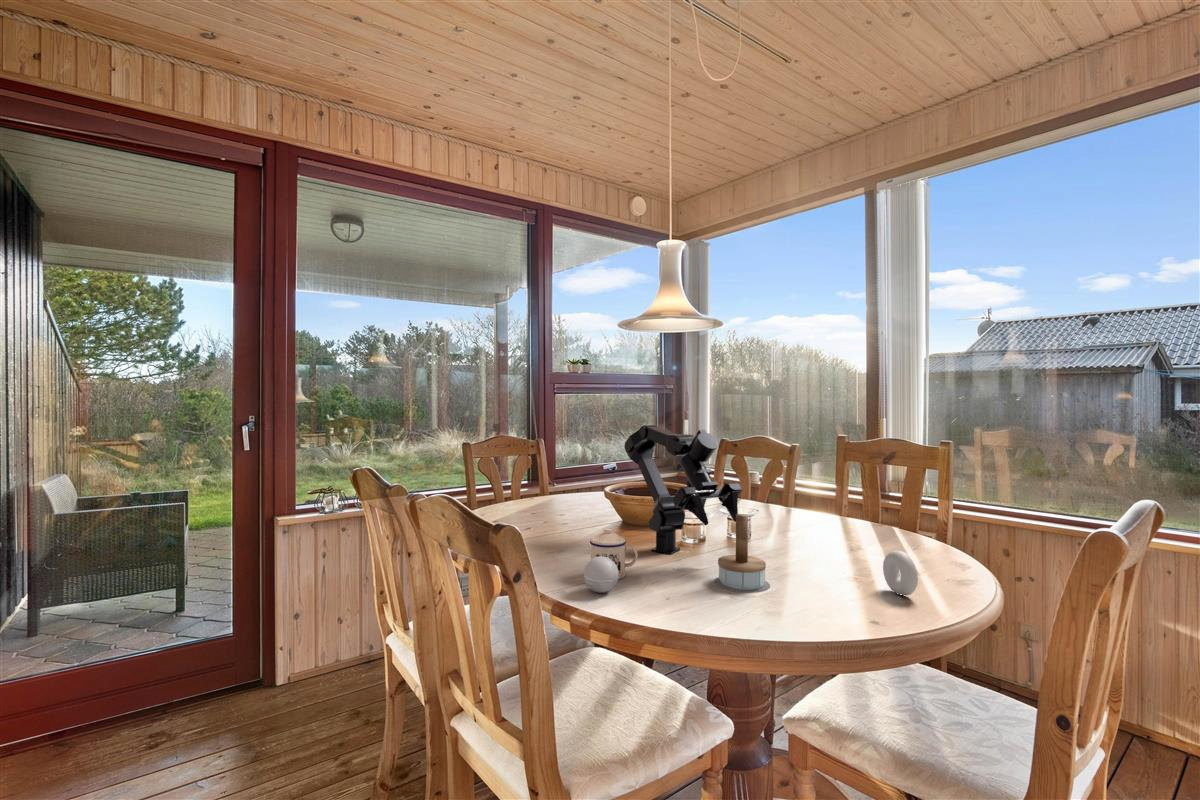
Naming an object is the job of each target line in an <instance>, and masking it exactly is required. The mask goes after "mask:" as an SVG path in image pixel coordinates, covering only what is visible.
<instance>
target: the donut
mask: <svg viewBox="0 0 1200 800" xmlns="http://www.w3.org/2000/svg"><path fill="white" fill-rule="evenodd" d="M882 570H883V571H882V572H883V576H884V580H885V582H886V584H887V587H889V589H890V590H891V592H893V591H894V592H893V593H895V592H896V593H898V594H902V595H907V596H911V595H912V594H913V593H914V592H915V591H916V589H917V587H918V584H919V583H918V582H919V576H918V570H917V567H916V565H915V562H914V560H913V559H912V558H911V557H910V556H909V554H907V553H905V552H904V551H902V550H896V549H894V550H891V551H890V552H888V553H887V555H885V557H884V560H883V564H882ZM896 593H895V594H896ZM898 594H897V595H898Z"/></svg>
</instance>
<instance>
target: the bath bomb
mask: <svg viewBox="0 0 1200 800" xmlns="http://www.w3.org/2000/svg"><path fill="white" fill-rule="evenodd" d="M618 575H619V574H618V568H617V566H616V564H615V563H614V562H613V561H612V560H611V559H609V558H607V557H603V556H599V557H595V558H593V559H591V558H590V560H589V561H588V562H587V563H586V565H585V567H584V570H583V578H584V579H583V580H584V582H585V584H586V587H588V588H589V589H590V590H591V591H593V592H595V593H598V594H599V593H600V594H604V593H607V592H609V591H611V590H612V589H614V588H615V587H616V585H617V583H618V580H619V579H618Z"/></svg>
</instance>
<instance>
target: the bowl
mask: <svg viewBox="0 0 1200 800" xmlns="http://www.w3.org/2000/svg"><path fill="white" fill-rule="evenodd" d="M718 577H719V579H720V582H721V584H722V585H724V586H726V587H728V588H732V589H737V590H757V589H760V588H762V587H763V586H764V582H765V581H766V569H765V570H763V571H760V572H753V573H743V572H734V571H729V570H726V569H723V568H721V567H720V566H719V565H718Z"/></svg>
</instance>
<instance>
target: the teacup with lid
mask: <svg viewBox="0 0 1200 800" xmlns="http://www.w3.org/2000/svg"><path fill="white" fill-rule="evenodd" d="M589 543H590V560H591V559H593V558H595V557H599V556H603V557H607V558H609V559H611V560H612V561H613V562H614V563H615V564H616V566H617V568H618V574H619V575H618V580H621V579H623V578H624V577H625V575H626V568H628V567H632V566H633V565H635V564H636V562H637V561H638V556H639V555H638V551H637V549H636V548H635V547H633V546H629V545H628V546H627V545H626V544H627V541H626V538H625V537H623V536H621V535H618V534H617V533H615V532H613V530H612V528H608V527H607V528H604V529H603V532H601V533H599V534H597V535H594V536H592V537H591V538H590V540H589ZM626 551H632V552H633V553H634V558H633V560H632V561H630V562H629V563H626Z"/></svg>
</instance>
